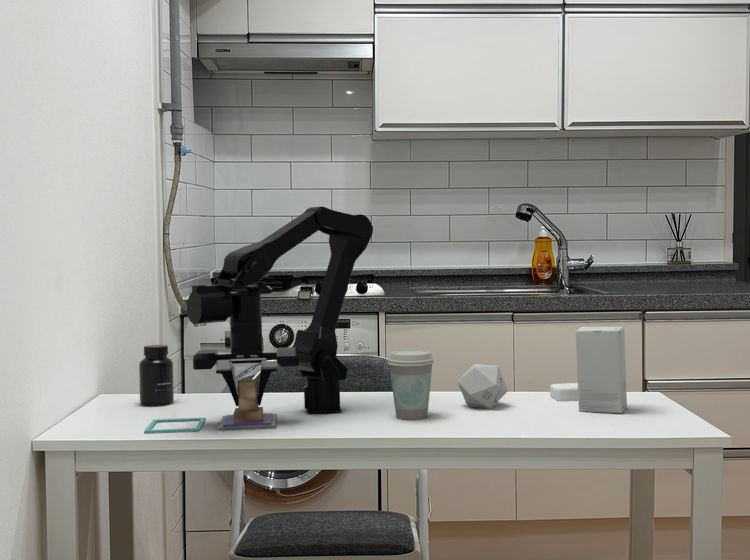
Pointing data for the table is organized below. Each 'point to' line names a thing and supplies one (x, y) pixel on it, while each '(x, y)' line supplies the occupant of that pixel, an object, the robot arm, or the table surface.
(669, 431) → the table surface
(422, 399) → the coffee cup
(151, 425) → the teal flat square frame
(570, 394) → the soap
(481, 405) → the die
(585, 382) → the skincare box
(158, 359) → the supplement bottle
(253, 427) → the ink pad
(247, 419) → the stamp
